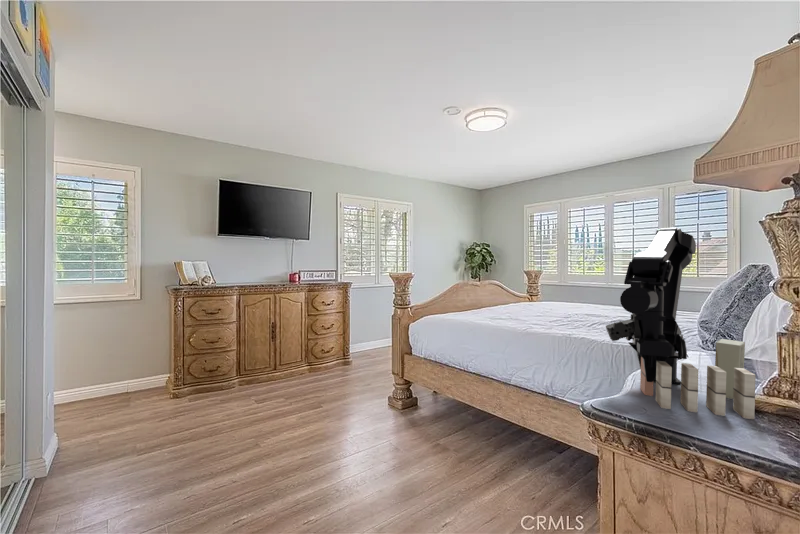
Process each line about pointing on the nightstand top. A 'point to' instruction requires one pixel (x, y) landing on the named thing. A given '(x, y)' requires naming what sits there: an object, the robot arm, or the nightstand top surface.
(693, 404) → the domino
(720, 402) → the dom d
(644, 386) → the domino
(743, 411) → the domino
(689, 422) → the nightstand top surface
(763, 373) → the nightstand top surface
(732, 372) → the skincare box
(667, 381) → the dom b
